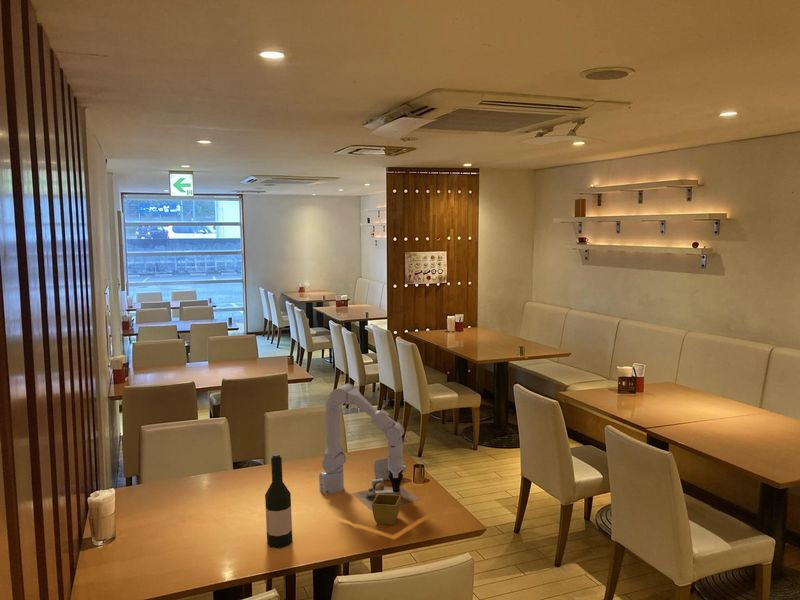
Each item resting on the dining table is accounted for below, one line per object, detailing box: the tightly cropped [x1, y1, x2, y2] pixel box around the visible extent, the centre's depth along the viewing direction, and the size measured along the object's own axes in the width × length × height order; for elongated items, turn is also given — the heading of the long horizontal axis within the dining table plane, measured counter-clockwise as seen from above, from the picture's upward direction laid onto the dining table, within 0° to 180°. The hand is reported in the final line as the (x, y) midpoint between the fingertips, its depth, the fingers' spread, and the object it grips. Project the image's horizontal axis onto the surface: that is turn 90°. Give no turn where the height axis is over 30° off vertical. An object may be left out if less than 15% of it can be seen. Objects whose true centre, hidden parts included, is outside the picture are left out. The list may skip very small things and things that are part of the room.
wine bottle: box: [264, 453, 293, 549], centre depth 201 cm, size 8×8×30 cm
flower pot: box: [371, 494, 401, 526], centre depth 213 cm, size 9×9×9 cm
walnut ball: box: [375, 483, 385, 491], centre depth 239 cm, size 4×4×4 cm
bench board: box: [351, 484, 421, 512], centre depth 235 cm, size 20×19×1 cm
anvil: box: [371, 478, 385, 491], centre depth 242 cm, size 4×2×4 cm, turn 108°
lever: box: [366, 487, 401, 497], centre depth 235 cm, size 13×3×6 cm, turn 94°
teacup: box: [373, 457, 408, 482], centre depth 255 cm, size 14×11×8 cm
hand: (396, 489), depth 235 cm, fingers open, 4 cm apart
